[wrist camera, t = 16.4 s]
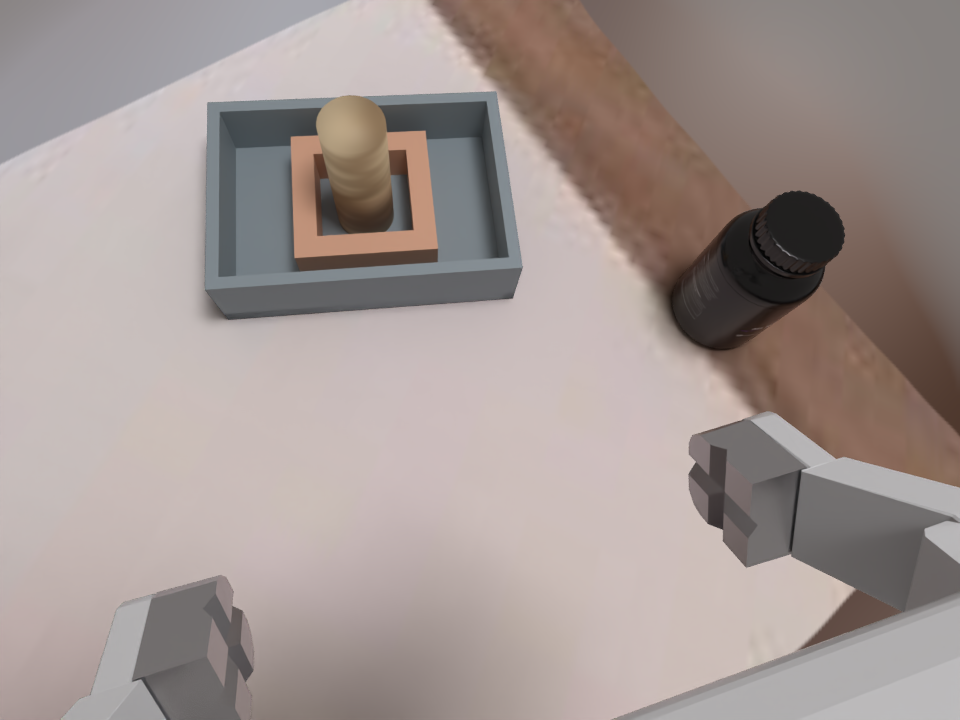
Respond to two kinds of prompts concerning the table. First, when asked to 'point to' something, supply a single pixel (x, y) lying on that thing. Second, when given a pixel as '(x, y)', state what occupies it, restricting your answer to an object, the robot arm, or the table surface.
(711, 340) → the supplement bottle
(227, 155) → the open-top box
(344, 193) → the beech peg
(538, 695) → the table surface
